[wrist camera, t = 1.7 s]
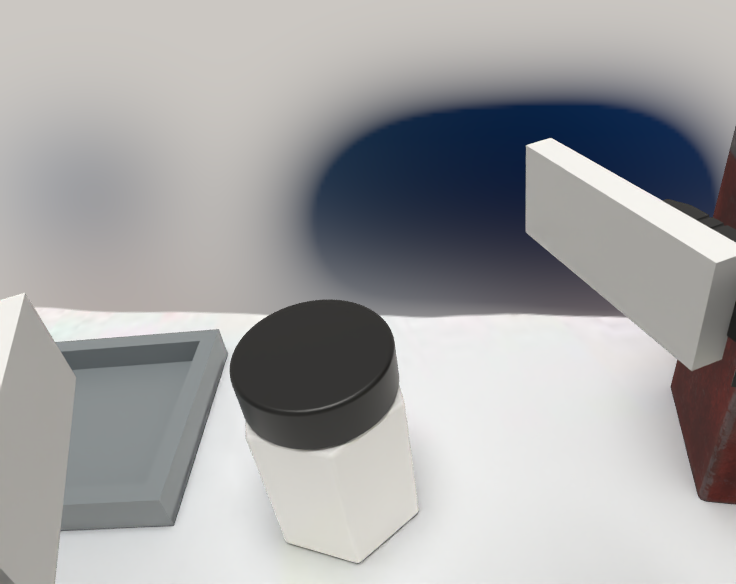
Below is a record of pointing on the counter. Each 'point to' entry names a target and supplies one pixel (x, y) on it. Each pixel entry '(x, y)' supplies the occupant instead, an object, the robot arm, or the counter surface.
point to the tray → (136, 425)
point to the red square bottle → (712, 391)
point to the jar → (327, 425)
